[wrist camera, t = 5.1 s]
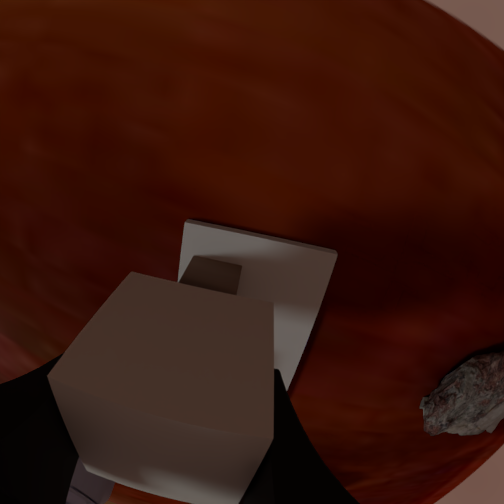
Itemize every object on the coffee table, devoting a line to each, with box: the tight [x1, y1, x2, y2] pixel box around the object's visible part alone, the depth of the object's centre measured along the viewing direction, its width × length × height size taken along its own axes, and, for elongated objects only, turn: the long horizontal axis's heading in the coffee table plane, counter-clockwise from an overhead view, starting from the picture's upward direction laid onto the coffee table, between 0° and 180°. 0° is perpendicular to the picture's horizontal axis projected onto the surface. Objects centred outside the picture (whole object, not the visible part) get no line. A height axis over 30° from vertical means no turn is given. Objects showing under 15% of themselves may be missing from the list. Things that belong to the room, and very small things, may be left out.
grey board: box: [178, 219, 338, 391], centre depth 17 cm, size 12×8×4 cm, turn 168°
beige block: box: [47, 272, 274, 504], centre depth 9 cm, size 5×5×6 cm
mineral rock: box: [420, 350, 504, 436], centre depth 18 cm, size 15×8×4 cm, turn 72°
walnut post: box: [178, 256, 242, 295], centre depth 14 cm, size 3×3×6 cm
